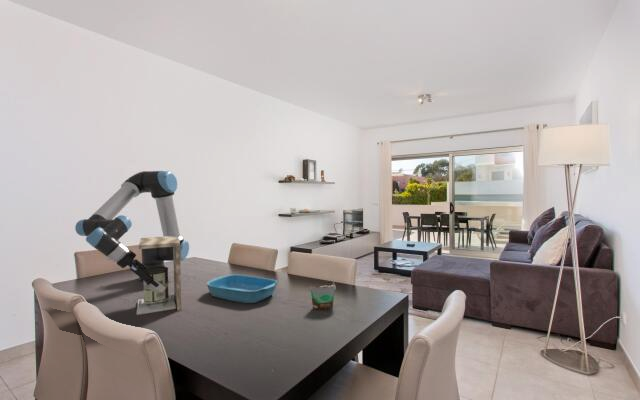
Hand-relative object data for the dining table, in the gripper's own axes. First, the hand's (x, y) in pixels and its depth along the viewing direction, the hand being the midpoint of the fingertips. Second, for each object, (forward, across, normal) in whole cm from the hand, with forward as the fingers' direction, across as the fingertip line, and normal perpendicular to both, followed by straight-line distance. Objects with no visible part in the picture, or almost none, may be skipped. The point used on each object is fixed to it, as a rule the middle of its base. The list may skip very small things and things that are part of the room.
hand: (163, 286), depth 149 cm
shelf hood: (+5, 0, -6) cm, 8 cm away
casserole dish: (+31, +4, +19) cm, 36 cm away
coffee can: (+2, 0, -6) cm, 6 cm away
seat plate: (+3, 0, -8) cm, 8 cm away
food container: (+50, +40, +38) cm, 75 cm away
